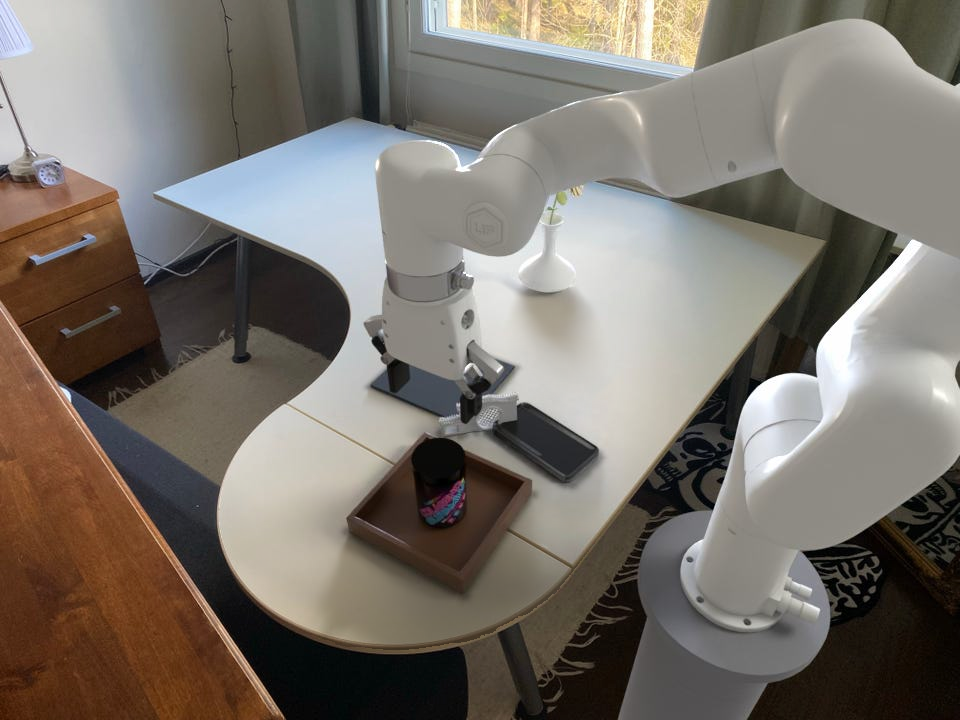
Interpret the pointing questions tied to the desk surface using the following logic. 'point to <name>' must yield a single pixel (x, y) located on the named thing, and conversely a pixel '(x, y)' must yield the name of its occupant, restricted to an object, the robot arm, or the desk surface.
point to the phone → (547, 442)
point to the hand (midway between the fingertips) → (434, 400)
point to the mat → (435, 389)
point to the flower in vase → (550, 254)
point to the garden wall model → (501, 403)
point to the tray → (448, 550)
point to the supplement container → (440, 482)
